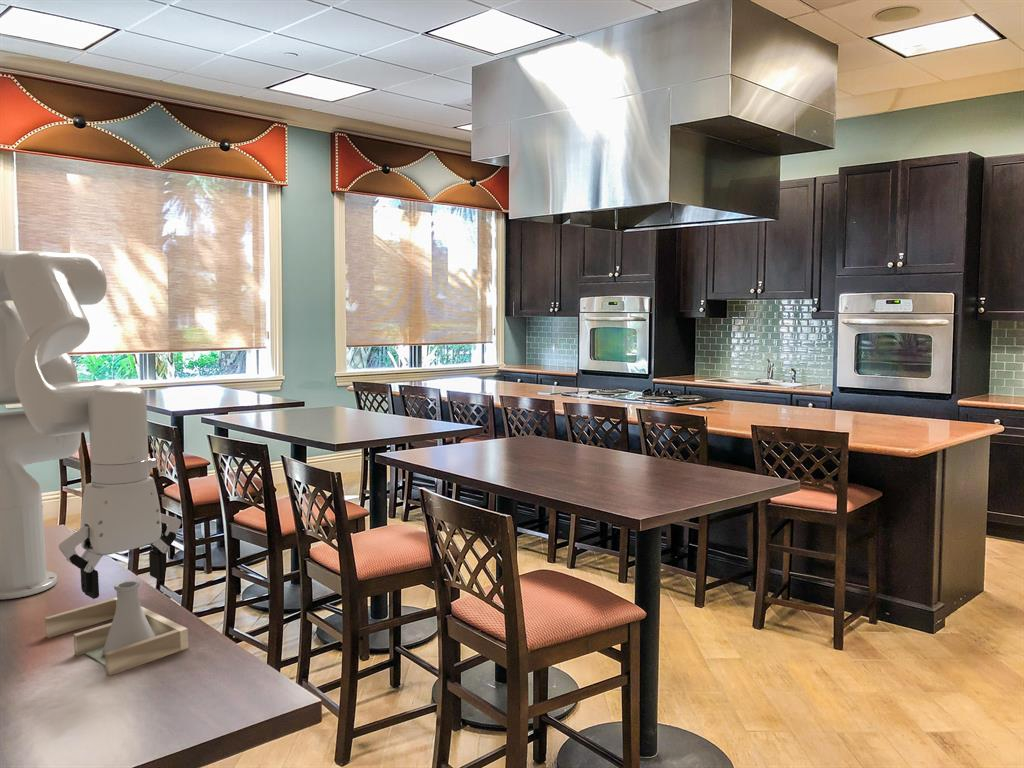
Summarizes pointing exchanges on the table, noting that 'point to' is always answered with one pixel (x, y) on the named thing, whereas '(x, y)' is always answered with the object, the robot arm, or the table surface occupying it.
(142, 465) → the robot arm
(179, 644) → the comb rack
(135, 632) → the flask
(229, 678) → the table surface
